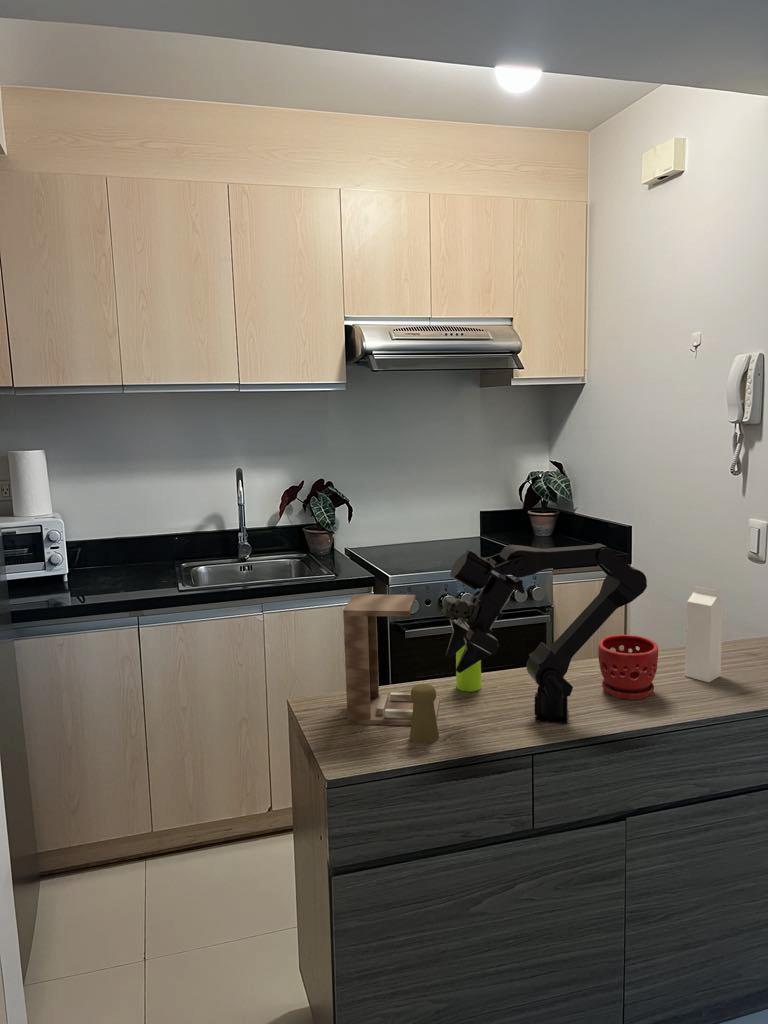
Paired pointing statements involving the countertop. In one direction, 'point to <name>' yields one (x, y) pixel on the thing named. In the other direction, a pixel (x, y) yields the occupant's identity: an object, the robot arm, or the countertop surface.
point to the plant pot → (628, 666)
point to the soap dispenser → (468, 675)
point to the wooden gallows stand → (372, 661)
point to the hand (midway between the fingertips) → (452, 664)
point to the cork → (423, 714)
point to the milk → (704, 635)
